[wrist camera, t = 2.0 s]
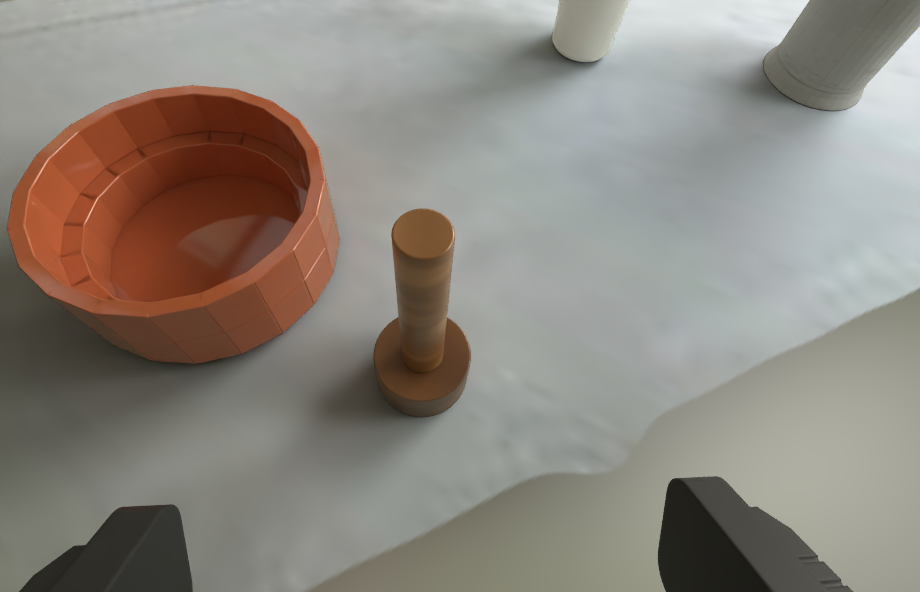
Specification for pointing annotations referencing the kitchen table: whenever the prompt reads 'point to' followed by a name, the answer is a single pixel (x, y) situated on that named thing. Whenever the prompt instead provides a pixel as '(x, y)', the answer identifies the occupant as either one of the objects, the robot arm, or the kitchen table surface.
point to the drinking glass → (587, 27)
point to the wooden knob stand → (422, 321)
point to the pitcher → (839, 49)
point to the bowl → (179, 222)
